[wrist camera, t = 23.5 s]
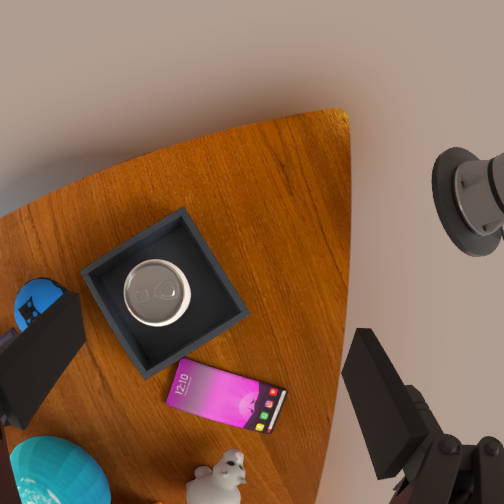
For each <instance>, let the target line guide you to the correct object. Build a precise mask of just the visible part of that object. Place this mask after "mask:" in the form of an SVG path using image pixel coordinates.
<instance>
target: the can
mask: <svg viewBox="0 0 504 504" xmlns="http://www.w3.org/2000/svg"><path fill="white" fill-rule="evenodd" d="M124 299H125V303H126V305H127V308H128V309H129V311H130V312H131V314H132V315H133V316H134V317H135V318H136V319H137V320H139V321H140V322H142V323H144V324H147V325H150V326H164V325H168V324H170V323H172V322H174V321H176V320H177V319H178V318H179V317H181V316H182V314H183V313H184V312H185V311H186V309H187V307H188V305H189V303H190V299H191V291H190V287H189V284H188V281H187V279H186V277H185V275H184V274H183V272H182V271H181V270H180V269H179V268H178V267H177V266H175V265H174V264H172V263H170V262H168V261H165V260H160V259H152V260H147V261H144V262H142V263H140V264H138V265H137V266H136V267H135V268H134V269H133V270H132V271H131V272H130V273H129V275H128V277H127V279H126V282H125V286H124Z"/></svg>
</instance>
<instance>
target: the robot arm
mask: <svg viewBox="0 0 504 504" xmlns="http://www.w3.org/2000/svg"><path fill="white" fill-rule="evenodd" d="M451 189H452V196H453V200H454V204H455V207H456V210H457V212H458V214H459V216H460V218H461V220H462V222H463V223H464V225H465V226H466V227H467V228H468V229H469V230H470V231H471V232H472V233H473V234H475V235H477V236H486V235H490V234H492V233H494V232H495V231H496V230H497V229H499V228H500V231H501V234H502V237H503V240H504V230H503V227H502V225H503V224H504V153H502V154H500V155H499V156H496V157H494V158H492V159H490V160H480V161H467V162H464V163H462V164H460V165H458V166H457V167H456V168H455V170H454V172H453V174H452V180H451ZM85 341H86V338H85V332H84V326H83V320H82V313H81V305H80V297H79V293H74V292H69V291H66V292H65V293H63V294H62V295H61V296H60V297H59V298H58V299H57V300H56V301H55V302H54V303H52V304H51V305H50V306H49V307H48V308H47V309H46V310H45V311H44V312H43V313H42V314H41V315H40V316H39V317H37V318H36V319H35V320H34V321H33V322H32V323H31V324H30V325H29V326H28V327H27V328H26V329H25V330H24V331H23V332H22V333H21V334H20V335H19V336H18V335H14V336H12V337H10V338H9V339H7V340H6V341H4V342H3V343H2V344H1V345H0V504H22V501H21V498H20V495H19V492H18V488H17V485H16V481H15V477H14V474H13V470H12V466H11V461H10V457H9V452H8V447H7V442H6V437H5V431H4V425H3V423H2V420H1V418H2V417H3V415H4V414H5V416H6V418H7V420H8V421H9V423H10V424H11V425H13V426H15V427H17V428H19V429H21V430H23V431H24V430H25V428H26V427H27V425H28V423H29V422H30V420H31V419H32V417H33V416H34V414H35V413H36V411H37V410H38V408H39V407H40V405H41V404H42V402H43V401H44V399H45V398H46V396H47V395H48V393H49V392H50V390H51V389H52V387H53V386H54V384H55V383H56V382H57V380H58V379H59V377H60V376H61V374H62V373H63V372H64V370H65V369H66V367H67V366H68V365H69V363H70V362H71V360H72V359H73V358H74V356H75V355H76V354H77V352H78V351H79V349H80V348H81V347H82V345H83V344H84V343H85ZM341 374H342V376H343V379H344V382H345V385H346V388H347V390H348V393H349V396H350V399H351V402H352V405H353V408H354V410H355V413H356V416H357V419H358V422H359V425H360V428H361V431H362V434H363V436H364V439H365V442H366V446H367V448H368V452H369V455H370V458H371V461H372V464H373V467H374V470H375V473H376V476H377V479H378V480H381V479H387V478H392V477H396V475H397V474H398V473H399V472H400V471H401V470H402V468H403V471H404V473H405V476H404V477H403V479H402V480H401V481H400V482H399V483H398V484H397V485H396V486H395V487H394V489H393V490H396V489H397V490H396V492H395V494H394V496H393V497H392V499H391V501H390V503H389V504H504V448H503V445H502V444H501V442H500V441H499V440H497V439H496V438H494V437H490V436H487V437H484V438H482V439H481V440H480V441H479V443H478V444H477V445H462V444H461V442H460V441H459V440H458V439H457V438H456V437H454V436H452V435H449V434H444V433H443V431H442V429H441V428H440V426H439V424H438V422H437V421H436V419H435V417H434V415H433V414H432V412H431V410H429V406H428V405H427V403H425V400H424V398H423V396H422V394H421V393H420V392H419V391H418V390H417V389H416V388H415V387H414V386H412V385H404V384H403V382H402V380H401V379H400V377H399V375H398V373H397V371H396V370H395V368H394V366H393V364H392V363H391V361H390V359H389V358H388V356H387V354H386V353H385V351H384V349H383V347H382V346H381V344H380V342H379V341H378V339H377V337H376V336H375V334H374V332H373V331H372V329H370V328H357V329H356V332H355V335H354V338H353V341H352V344H351V347H350V350H349V353H348V356H347V358H346V361H345V364H344V367H343V370H342V372H341Z"/></svg>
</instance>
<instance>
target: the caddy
mask: <svg viewBox="0 0 504 504" xmlns="http://www.w3.org/2000/svg"><path fill="white" fill-rule="evenodd" d="M152 259H160V260H165V261H168V262H170V263H172V264H174V265H175V266H177V267H178V268H179V269H180V270H181V271H182V272H183V274H184V275H185V277H186V279H187V281H188V284H189V287H190V291H191V299H190V303H189V305H188V307H187V309H186V311H185V312H184V313H183V314H182V316H181V317H179V318H178V319H177V320H176V321H174V322H172V323H170V324H168V325H164V326H150V325H147V324H144V323H142V322H140V321H139V320H137V319H136V318H135V317H134V316H133V315H132V314H131V312H130V311H129V309H128V308H127V305H126V303H125V299H124V286H125V282H126V279H127V277H128V275H129V273H130V272H131V271H132V270H133V269H134V268H135V267H136V266H137V265H138V264H140V263H142V262H144V261H147V260H152ZM80 272H81V274H82V276H83V278H84V280H85V282H86V284H87V286H88V288H89V290H90V292H91V293H92V295H93V297H94V299H95V301H96V303H97V304H98V306H99V308H100V310H101V312H102V313H103V315H104V317H105V319H106V320H107V322H108V324H109V325H110V327H111V329H112V330H113V332H114V334H115V335H116V337H117V339H118V340H119V342H120V344H121V345H122V347H123V348H124V350H125V351H126V353H127V355H128V356H129V358H130V359H131V361H132V362H133V364H134V365H135V367H136V368H137V370H138V371H139V373H140V374H141V375H142V377H143V378H144V380H146V379H147V378H149V377H151V376H153V375H154V374H156V373H158V372H159V371H161V370H163V369H164V368H166V367H168V366H169V365H171V364H173V363H174V362H176V361H178V360H179V359H181V358H182V357H184V356H186V355H187V354H189V353H191V352H192V351H194V350H195V349H197V348H199V347H200V346H202V345H203V344H205V343H207V342H208V341H210V340H211V339H213V338H215V337H216V336H218V335H219V334H221V333H222V332H224V331H226V330H227V329H229V328H230V327H232V326H233V325H235V324H236V323H238V322H239V321H241V320H243V319H244V318H246V317H247V316H249V315H250V314H251V313H250V312H249V310H248V309H247V307H246V305H245V304H244V302H243V301H242V299H241V298H240V296H239V294H238V293H237V291H236V290H235V288H234V287H233V285H232V283H231V282H230V280H229V279H228V277H227V275H226V274H225V272H224V271H223V269H222V268H221V266H220V264H219V263H218V261H217V260H216V258H215V256H214V255H213V253H212V251H211V250H210V248H209V247H208V245H207V243H206V242H205V240H204V239H203V237H202V235H201V234H200V232H199V230H198V229H197V227H196V225H195V224H194V222H193V220H192V219H191V217H190V216H189V214H188V212H187V211H186V209H185V207H182V208H180V209H178V210H177V211H175V212H173V213H172V214H170V215H168V216H166V217H165V218H163V219H161V220H160V221H158V222H156V223H155V224H153V225H151V226H150V227H148V228H146V229H145V230H143V231H141V232H140V233H138V234H137V235H135V236H133V237H132V238H130V239H129V240H127V241H125V242H124V243H122V244H121V245H119V246H117V247H116V248H114V249H113V250H111V251H110V252H108V253H106V254H105V255H103V256H102V257H100V258H99V259H97V260H96V261H94V262H93V263H91V264H90V265H88V266H87V267H85V268H84V269H82V270H81V271H80Z"/></svg>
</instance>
